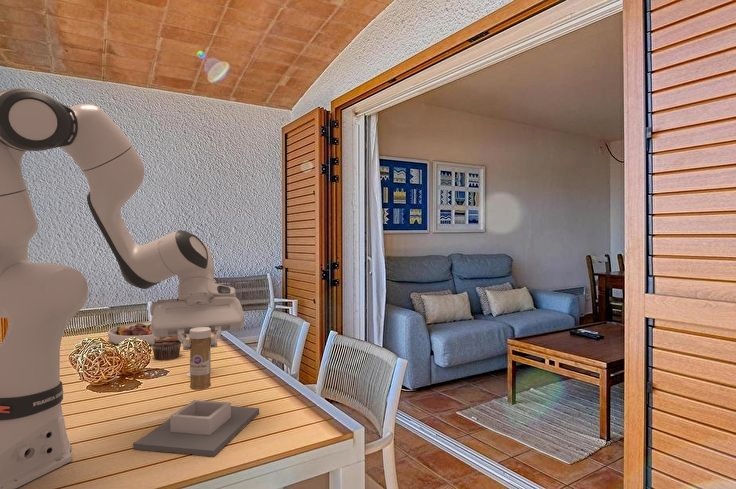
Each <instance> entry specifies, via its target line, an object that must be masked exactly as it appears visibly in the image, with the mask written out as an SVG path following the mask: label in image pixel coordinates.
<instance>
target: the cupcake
mask: <svg viewBox="0 0 736 489" xmlns="http://www.w3.org/2000/svg"><path fill="white" fill-rule="evenodd" d="M154 342H155V343H154V344H152V345H151V349H152V353H153V357H154V358H153V359H154V360H156V361H168V360H174V359H177V358H178V357H179V355H180V351H181V345H182V343H181V342H180V341H179V340H178V335H175V336H164V337H156V338H155V339H154Z"/></svg>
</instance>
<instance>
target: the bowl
mask: <svg viewBox="0 0 736 489" xmlns="http://www.w3.org/2000/svg"><path fill="white" fill-rule="evenodd" d="M151 323H152V320H148V321H140V322H132V323H128V324H123V325H117V326H115V327H112V328H110V329H108V331H107V336H108V339H109V341H110V342H112V343H113V344H115V345H117V344H119V343H121V342H122V341H124V340H125V339H127V338H130V337H135V338H138V339H140V340H144V341H146V342H147V343H148V344H149V345H150V346H152V344H154V343H155V342H154V339H155V338H156V337H155V336H154V335H153V334H152V331H151Z"/></svg>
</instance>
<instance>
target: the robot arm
mask: <svg viewBox="0 0 736 489" xmlns="http://www.w3.org/2000/svg"><path fill="white" fill-rule="evenodd" d="M57 148H60V149H62V150H63V151H64V152H66V153H67V154H68V155H69V156H70V157H71V158H72V159H73V161H74V162H75V163H76V165H77V166H78V167H79V169H80V171H81V172H82V173H83V174H84V176H85V178H86V180H87V183H88V186H89V192H88V193H87V195H86V201H87V205H88V208H89V211H90V213H91V215H92V217H93V219H94V221H95V223H96V225H97V226H98V228H99V230H100V232H101V234H102V236H103V238H104V239H105V241H106V244H107V246H109V249H110V250H111V252H112V253H113V256H114V257H115V259H116V261H117V264H118V267H119V271H120V272H121V275H122V276H123V279H124V280H125V281H126V282H127V283H128V284H129V285H131V286H133V287H135V288H139V289H142V290H149V289H151V288H152V287H154V286H155V285H158V284H160V283H162V281H163V282H164V281H165V280H168V279H170V278H173V277H176V276H177V279H178V281H179V283H178V285H177V298H169V299H168V298H167V299H158V300H157V301H155V302H153V303H151V305H150V308H149V313H150V315H151V316H152V317H151V321H152V323H151V331H152V334H153V335H154V336H155V337H164V336H175V335H178V340H179V341H180V342H181V345H182V349H183V351H190V339H186V337H185V335H186V334H190V329H192V328H196V327H209V328H211V333H214V336H212V337H211V338H210V349H212V348H218V340H219V339H220V337H221V335H222V332H230V331H238V330H239V331H240V330H241V329H242V328H243V327H244V324H245V315H244V311H243V306H242V303H241V302H240V299H239V298H237V297H236V295H237V294H236V289H235V287H232V286H229V285H228V286H227V285H222V284H219V283H216V282H215V279H214V278H215V264H214V260H213V256H212V253H211V250H210V248H209V246H208V245H207V244H206V243H205V242H203V241H202V240H201V239H200V238H199V237H198V236H197V235H195V234H193V233H191V232H189V231H186V230H182V229H179V230H176V231H173V232H171V233H168V234H165V235H163V236H161V237H159V238H157V239H155V240H152V241H150V242H147V243H144V244H142V245H141V244H137V243H136V242H135V241H134V239H133V237H132V235H131V234H130V232H129V230H128V228H127V226H126V223H125V222H124V220H123V217H122V215H121V210H122V207H123V206H124V205H125V204H126V203H127V202H128V201H129V199H130V198H131V197H133V195H134V194H136V192H137V191H138V190H139V188H140V186H142V184H143V181H144V177H145V165H144V162H143V161H142V159H141V157H140V155H139V153H138V152H137V150H136V148H135V147H134V146H133V145H132V143H131V141H130V140H129V138H128V137H127V136H126V135H125V133H124V132H123V131H122V130H121V128H120V127H119V126H118V124H117V123H116V122H115V121H114V120H113V118H111V117H110V116H109V115H108V114H107V113H106V112H105V111H104V110H103V109H102V108H101V107H99V106H97V105H95V104H92V103H80V104H76V105H73V106H70V107H69V106H67V105H65V104H64V103H62V102H60V101H58V100H56V99H55V98H53V97H51V96H49V94H48V95H47V94H45V93H43V92H42V91H41V92H40V91H38V90H35V89H30V88H9V89H4V90H1V91H0V319H8V326H7V330H6V332H5V336H4V339H3V340H2V341H1V342H0V489H18V488H20V487H21V486H23V485H25V484H28V483H30V482H32V481H34V480H36V479H38V478H40V477H42V476H44V475H46V474H48V473H51V472H52V471H54V470H56V469H58V468H60V467H62V466H64V465H66V464H69V463H70V462H72V460H73V456H72V453H71V451H72V444H71V443H70V440H69V437H68V433H67V430H66V428H67V427H66V423H65V418H64V413H63V410H62V401H64V400H63V399H64V389H63V388H64V387H63V382H62V381H61V376H60V375H61V374H60V373H61V372H60V371H61V370H60V369H61V365H60V364H61V360H60V359H61V358H60V357H61V356H60V355H61V353H60V352H61V351H60V350H61V344H62V339H63V335H64V333H65V330H66V328H67V326H68V324H69V322H70V321H71V319H72V318H73V317H74V316H75V315H76V314H77V313H78V312H80V311H81V310H82V309H83V307H84V306H85V304H86V302H87V299H88V296H89V284H88V280H87V279H86V277H85V275H84V274H83V273H82V272H81V271H79V270H78V269H76V268H73V267H69V266H66V265H62V264H58V263H54V262H51V263H50V262H31V261H30V259H29V258H30V257H29V252H28V250H29V248H28V247H29V242H30V239H32V238H33V237H34V236H35V235H36V233H37V231H38V228H39V223H38V220H37V217H36V214H35V210H34V207H33V204H32V201H31V197H30V194H29V190H28V188H27V184H26V181H25V178H24V176H23V172H22V160H23V158H24V157H23V156H24V155H25V154H26V152H40V151H41V152H42V151H47V150H52V149H57ZM186 336H187V335H186Z"/></svg>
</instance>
